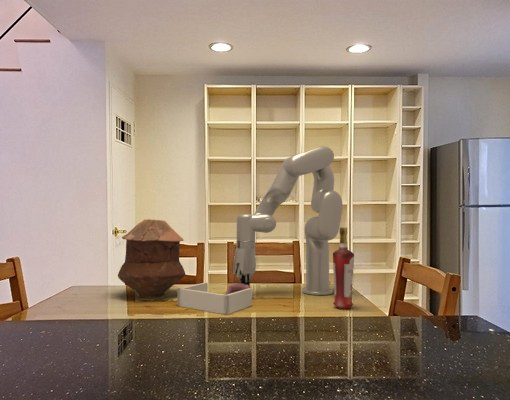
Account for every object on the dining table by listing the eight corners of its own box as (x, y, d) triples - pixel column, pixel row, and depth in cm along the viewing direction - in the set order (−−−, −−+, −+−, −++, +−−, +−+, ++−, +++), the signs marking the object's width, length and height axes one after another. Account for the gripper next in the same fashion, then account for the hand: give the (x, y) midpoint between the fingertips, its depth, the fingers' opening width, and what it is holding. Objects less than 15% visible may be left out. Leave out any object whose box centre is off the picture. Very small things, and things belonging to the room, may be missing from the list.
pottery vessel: (102, 298, 148) (104, 219, 149) (145, 286, 172) (146, 218, 173) (159, 304, 138) (160, 220, 139) (196, 291, 162) (197, 219, 163)
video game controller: (251, 303, 149) (254, 285, 152) (247, 300, 145) (250, 282, 148) (227, 301, 152) (230, 283, 155) (223, 298, 148) (226, 280, 151)
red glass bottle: (337, 304, 141) (337, 227, 142) (357, 307, 137) (357, 227, 138) (329, 308, 135) (329, 227, 137) (349, 311, 131) (349, 228, 132)
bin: (204, 298, 150) (205, 282, 150) (251, 305, 138) (252, 288, 139) (177, 305, 137) (177, 288, 137) (226, 314, 126) (227, 295, 126)
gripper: (248, 243, 164) (247, 287, 163) (227, 245, 151) (226, 293, 150) (263, 244, 160) (263, 289, 159) (243, 246, 147) (242, 296, 146)
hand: (245, 291), depth 154 cm, fingers closed
